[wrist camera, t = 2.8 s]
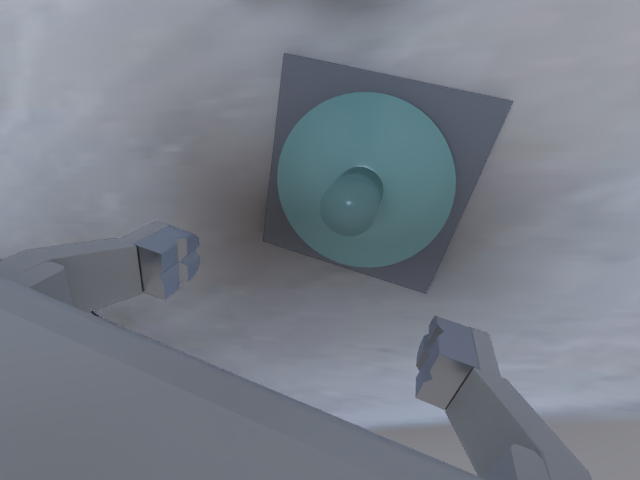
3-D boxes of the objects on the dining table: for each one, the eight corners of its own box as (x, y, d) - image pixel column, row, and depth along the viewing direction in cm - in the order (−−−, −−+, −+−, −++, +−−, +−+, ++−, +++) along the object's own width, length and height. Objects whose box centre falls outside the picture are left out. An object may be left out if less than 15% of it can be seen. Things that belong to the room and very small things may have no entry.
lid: (418, 279, 24) (417, 323, 19) (275, 234, 26) (244, 265, 21) (487, 115, 18) (508, 124, 13) (295, 74, 20) (259, 69, 15)
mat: (425, 288, 25) (426, 293, 24) (267, 237, 27) (262, 240, 26) (509, 100, 18) (513, 101, 17) (288, 54, 20) (283, 53, 20)
